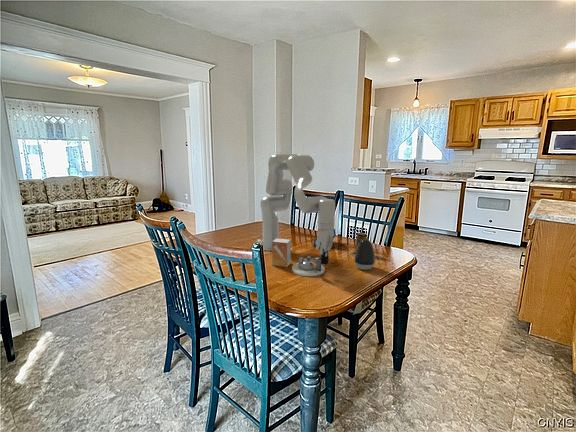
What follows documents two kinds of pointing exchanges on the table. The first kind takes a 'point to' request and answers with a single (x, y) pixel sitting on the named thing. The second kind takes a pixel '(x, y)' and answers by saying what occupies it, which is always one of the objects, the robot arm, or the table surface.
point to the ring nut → (310, 263)
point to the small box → (281, 252)
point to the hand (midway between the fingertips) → (324, 263)
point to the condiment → (360, 237)
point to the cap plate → (307, 273)
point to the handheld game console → (316, 239)
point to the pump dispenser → (364, 255)
